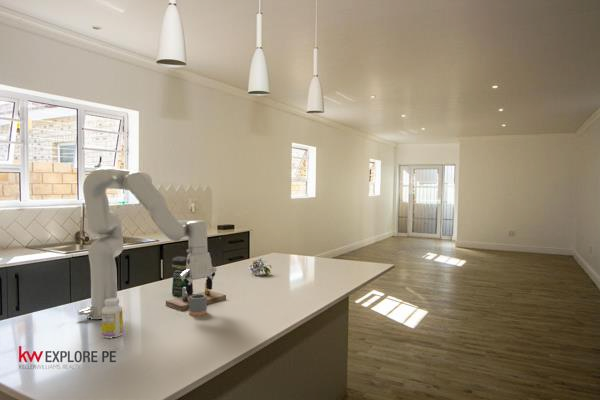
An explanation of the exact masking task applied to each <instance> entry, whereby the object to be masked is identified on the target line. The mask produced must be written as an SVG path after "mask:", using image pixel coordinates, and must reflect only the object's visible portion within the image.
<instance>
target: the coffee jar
mask: <svg viewBox="0 0 600 400" xmlns="http://www.w3.org/2000/svg"><path fill="white" fill-rule="evenodd" d="M186 264H187V256H174V257H173V258H172V262H171V268H172V273H173V274H172V284H171V285H172V287H171V294H172V295H174V296H177V297H182V289H183V287H186V284H185V283H184V282H183V281H182V279H181V278H180V275H181V274H182V273H183V272H184V271H186ZM185 278H186V279H187V276H185ZM191 285H192V294H194V284H193V282H192V283H191ZM189 295H190V294H188V296H189Z"/></svg>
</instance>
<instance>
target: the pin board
mask: <svg viewBox="0 0 600 400" xmlns="http://www.w3.org/2000/svg"><path fill="white" fill-rule="evenodd" d="M196 294H203V295H205V291H202V292H198V293H192V294H191V295H189V296H188V301H182V296H179V297H176V298H173V299H168V300H165V306H166V307H169V308H172V309H174V310H177V311H180V312H182V311H185V310H189V297H190V296H192V295H196ZM225 300H227V294H224V293H220V292H217V291H214V290H210V296H207V305H209V304H212V303H216V302H217V303H218V302H221V301H225Z"/></svg>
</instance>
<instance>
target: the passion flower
mask: <svg viewBox="0 0 600 400" xmlns="http://www.w3.org/2000/svg"><path fill="white" fill-rule="evenodd" d="M266 263H267V261H266V260H264V261H263V258H262V257H260V258H259V259H256V260H253V261H252V263H251V264H250V267H248V268H247V270H250V271H251V275H253V276H254V277H255V276H257V275H260V273H261V272H262V273H265V275H266V277H268V276H269V274H271V269H272V268H273V267H272V265H271V264H269V265H266ZM268 266H269V267H270V268H269V267H268Z"/></svg>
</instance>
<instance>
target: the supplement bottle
mask: <svg viewBox="0 0 600 400" xmlns="http://www.w3.org/2000/svg"><path fill="white" fill-rule="evenodd" d="M119 303H120V299H119V297H117V298H109V299H106V300H105V301H104V304H105V307H104V308H103V309H102V320H101V336H102V338H104V337H105V338H104V339H108V338H110V339H112V338H111V337H116V338H118V337H117V336H119V337H120V335H121V336H122V335H123V334H124V333H123V332H124V329H123V327H124V326H123V325H124V321H123V307H122V306H121V305H120V304H119Z"/></svg>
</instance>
